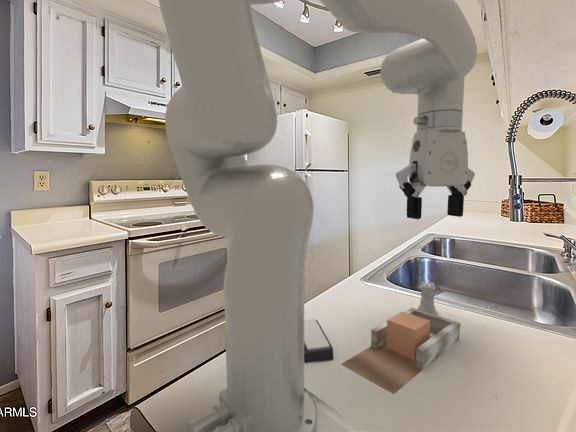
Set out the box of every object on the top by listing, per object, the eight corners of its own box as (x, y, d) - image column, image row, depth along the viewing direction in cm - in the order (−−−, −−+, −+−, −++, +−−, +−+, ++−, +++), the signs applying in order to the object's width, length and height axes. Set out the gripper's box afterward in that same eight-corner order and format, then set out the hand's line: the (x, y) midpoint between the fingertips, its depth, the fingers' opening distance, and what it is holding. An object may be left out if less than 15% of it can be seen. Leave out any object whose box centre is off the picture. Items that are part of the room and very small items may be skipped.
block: (414, 360, 50) (415, 330, 49) (386, 347, 53) (387, 319, 53) (429, 349, 53) (430, 320, 52) (401, 338, 57) (402, 311, 56)
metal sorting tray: (393, 404, 42) (394, 372, 42) (340, 373, 49) (341, 345, 48) (458, 346, 56) (460, 322, 56) (411, 329, 63) (412, 307, 63)
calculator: (238, 324, 58) (316, 315, 60) (239, 346, 59) (317, 336, 61) (238, 357, 47) (333, 344, 50) (240, 383, 48) (334, 369, 50)
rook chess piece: (441, 323, 66) (443, 286, 65) (420, 323, 66) (421, 286, 65) (432, 314, 70) (434, 279, 69) (412, 314, 70) (413, 279, 69)
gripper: (414, 118, 51) (410, 222, 53) (493, 123, 57) (487, 217, 59) (386, 126, 59) (384, 217, 61) (458, 129, 64) (454, 213, 66)
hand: (434, 217), depth 60 cm, fingers open, 9 cm apart
